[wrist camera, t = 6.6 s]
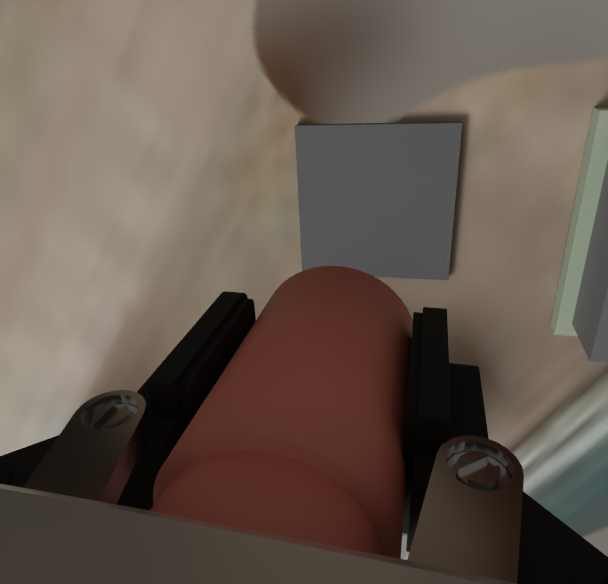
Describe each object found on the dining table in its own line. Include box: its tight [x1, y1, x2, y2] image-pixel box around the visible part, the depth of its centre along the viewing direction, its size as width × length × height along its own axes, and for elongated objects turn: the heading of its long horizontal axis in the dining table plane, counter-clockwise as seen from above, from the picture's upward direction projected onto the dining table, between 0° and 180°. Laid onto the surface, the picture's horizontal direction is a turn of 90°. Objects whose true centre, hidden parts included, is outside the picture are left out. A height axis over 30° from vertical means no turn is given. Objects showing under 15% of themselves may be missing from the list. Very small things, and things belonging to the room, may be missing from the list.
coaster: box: [295, 122, 462, 280], centre depth 26 cm, size 8×8×1 cm
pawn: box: [150, 266, 413, 559], centre depth 9 cm, size 4×4×8 cm
